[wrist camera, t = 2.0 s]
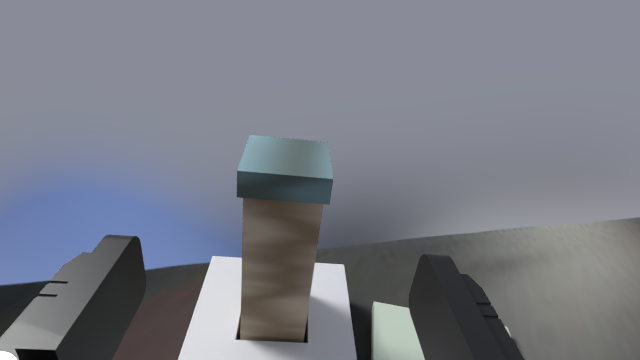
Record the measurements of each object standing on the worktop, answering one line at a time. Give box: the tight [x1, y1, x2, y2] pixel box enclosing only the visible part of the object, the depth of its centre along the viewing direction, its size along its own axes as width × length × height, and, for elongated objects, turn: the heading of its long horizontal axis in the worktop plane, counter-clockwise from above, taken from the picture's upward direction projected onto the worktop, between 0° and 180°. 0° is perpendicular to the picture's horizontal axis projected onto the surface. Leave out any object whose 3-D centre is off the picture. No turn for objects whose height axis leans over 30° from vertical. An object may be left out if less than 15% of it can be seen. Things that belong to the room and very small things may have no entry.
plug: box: [237, 135, 333, 343], centre depth 25 cm, size 5×5×17 cm
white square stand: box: [178, 256, 357, 360], centre depth 28 cm, size 12×12×4 cm
